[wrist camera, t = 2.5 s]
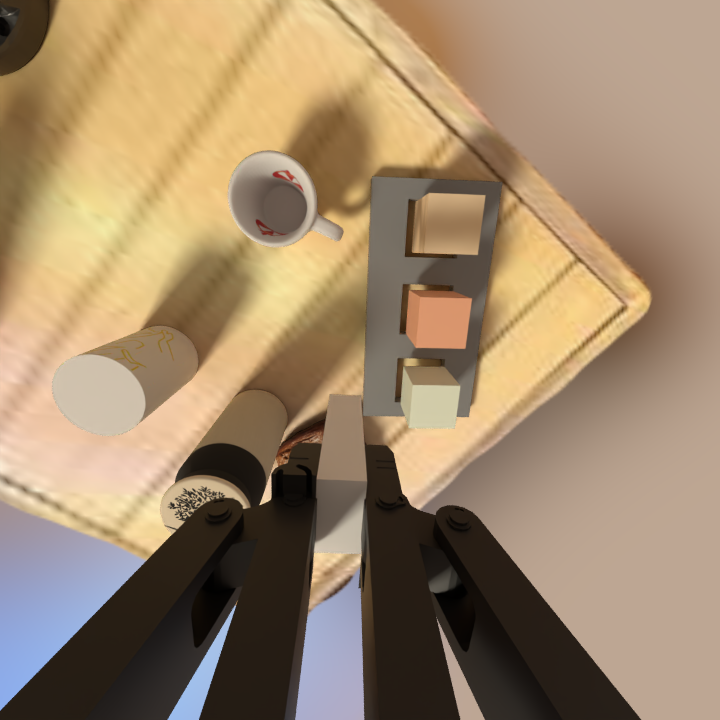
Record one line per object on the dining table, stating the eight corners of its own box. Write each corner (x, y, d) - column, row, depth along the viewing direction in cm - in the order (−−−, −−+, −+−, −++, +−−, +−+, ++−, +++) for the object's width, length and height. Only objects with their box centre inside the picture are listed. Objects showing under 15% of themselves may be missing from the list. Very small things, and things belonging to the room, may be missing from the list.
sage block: (403, 366, 41) (412, 385, 35) (444, 366, 41) (460, 385, 35) (400, 404, 42) (409, 428, 37) (440, 404, 43) (454, 428, 37)
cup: (357, 203, 38) (360, 191, 31) (328, 270, 40) (324, 274, 33) (265, 156, 36) (244, 131, 29) (240, 228, 38) (214, 223, 31)
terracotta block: (409, 290, 38) (420, 297, 32) (453, 291, 38) (471, 298, 33) (405, 333, 40) (415, 347, 34) (448, 334, 40) (465, 348, 34)
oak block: (415, 202, 35) (429, 192, 30) (463, 203, 36) (485, 195, 30) (411, 252, 37) (423, 253, 31) (457, 254, 37) (477, 254, 31)
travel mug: (247, 377, 44) (184, 458, 27) (299, 409, 46) (271, 505, 29) (216, 422, 46) (139, 526, 29) (268, 451, 47) (224, 566, 30)
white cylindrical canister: (196, 328, 42) (140, 357, 30) (200, 389, 44) (149, 437, 33) (127, 323, 41) (43, 351, 30) (135, 385, 44) (61, 433, 32)
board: (371, 179, 37) (372, 176, 36) (496, 184, 38) (502, 182, 37) (362, 410, 46) (363, 415, 44) (464, 411, 47) (468, 417, 45)
